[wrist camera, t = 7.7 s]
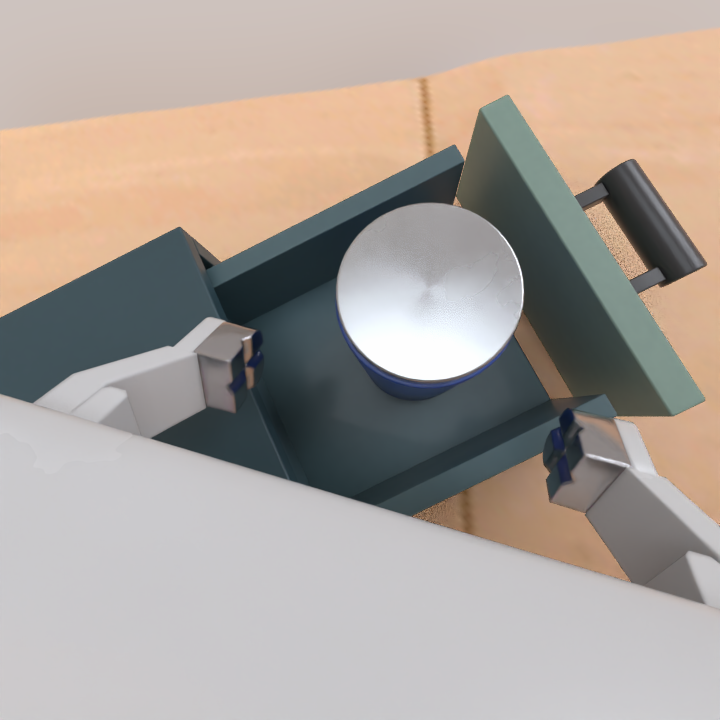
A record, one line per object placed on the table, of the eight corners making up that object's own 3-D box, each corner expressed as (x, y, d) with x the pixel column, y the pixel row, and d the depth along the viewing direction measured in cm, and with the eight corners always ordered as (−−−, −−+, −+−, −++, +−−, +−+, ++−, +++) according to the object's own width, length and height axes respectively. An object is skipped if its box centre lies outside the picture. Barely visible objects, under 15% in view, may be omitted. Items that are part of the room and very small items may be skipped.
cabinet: (256, 292, 21) (179, 225, 14) (366, 533, 19) (346, 610, 11) (3, 419, 21) (-208, 422, 14) (81, 672, 19) (-120, 835, 12)
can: (435, 280, 18) (469, 165, 10) (486, 371, 18) (568, 330, 9) (344, 326, 18) (300, 250, 10) (389, 418, 18) (383, 421, 9)
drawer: (552, 147, 20) (615, 38, 14) (694, 363, 18) (834, 338, 12) (223, 312, 20) (155, 272, 15) (324, 543, 18) (291, 602, 12)
